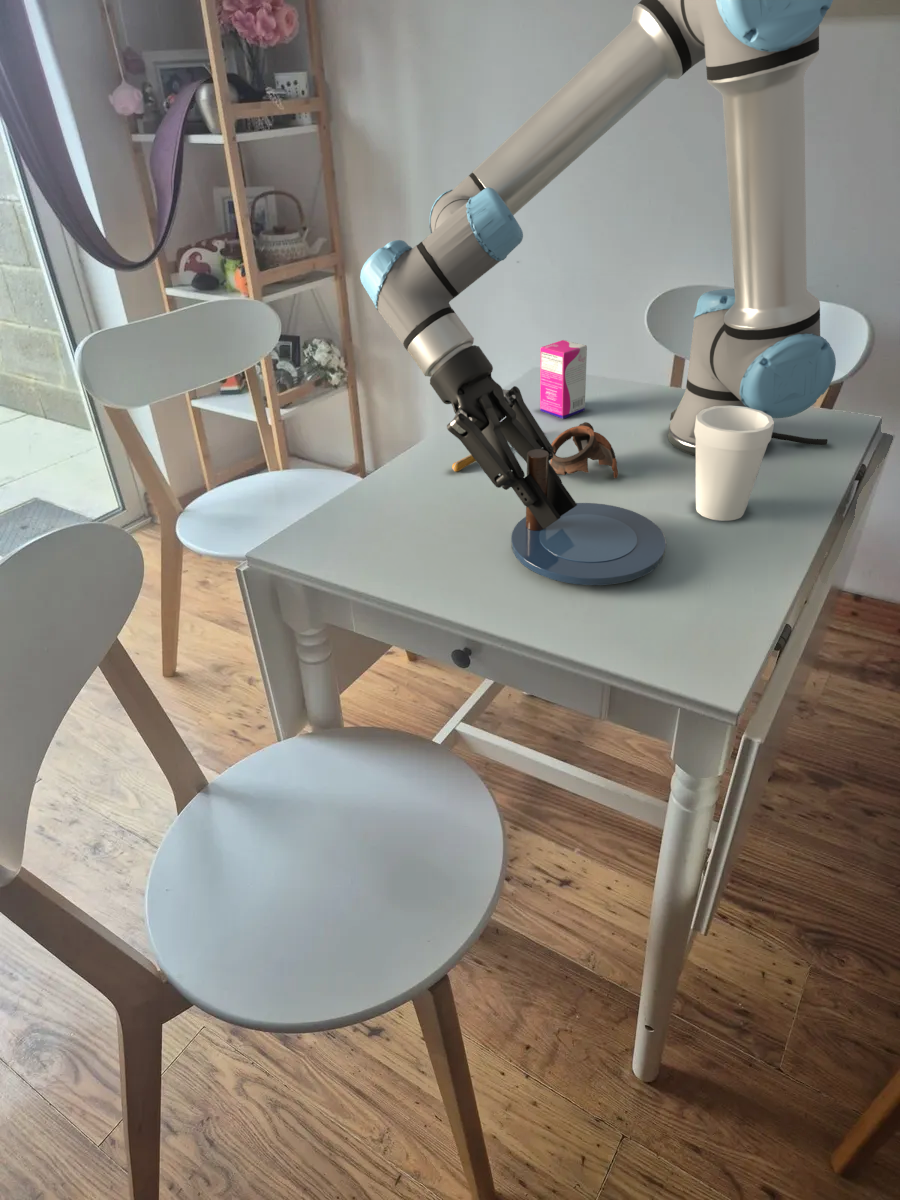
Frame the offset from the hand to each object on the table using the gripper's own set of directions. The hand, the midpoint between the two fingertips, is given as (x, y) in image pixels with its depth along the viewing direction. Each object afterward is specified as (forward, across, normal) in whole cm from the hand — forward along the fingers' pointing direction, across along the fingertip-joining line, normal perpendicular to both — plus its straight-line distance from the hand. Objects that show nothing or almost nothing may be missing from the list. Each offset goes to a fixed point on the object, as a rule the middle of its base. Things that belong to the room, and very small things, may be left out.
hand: (560, 516), depth 101 cm
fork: (-14, -21, -20) cm, 32 cm away
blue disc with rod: (+5, -1, 0) cm, 5 cm away
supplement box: (-14, -42, -19) cm, 48 cm away
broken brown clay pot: (-3, -22, -9) cm, 24 cm away
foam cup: (+12, -21, +6) cm, 25 cm away
